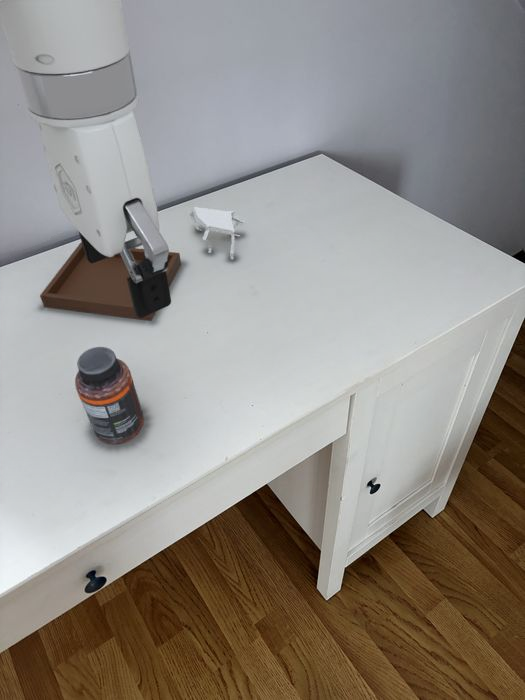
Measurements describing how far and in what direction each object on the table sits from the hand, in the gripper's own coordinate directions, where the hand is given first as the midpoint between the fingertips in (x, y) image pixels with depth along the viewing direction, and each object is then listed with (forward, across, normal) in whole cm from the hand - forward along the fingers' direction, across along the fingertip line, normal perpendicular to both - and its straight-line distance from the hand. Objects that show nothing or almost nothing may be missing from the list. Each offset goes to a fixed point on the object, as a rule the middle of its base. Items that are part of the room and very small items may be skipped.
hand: (127, 281), depth 51 cm
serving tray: (+22, -28, +8) cm, 37 cm away
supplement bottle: (+22, -4, -4) cm, 23 cm away
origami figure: (+22, -29, +26) cm, 44 cm away
